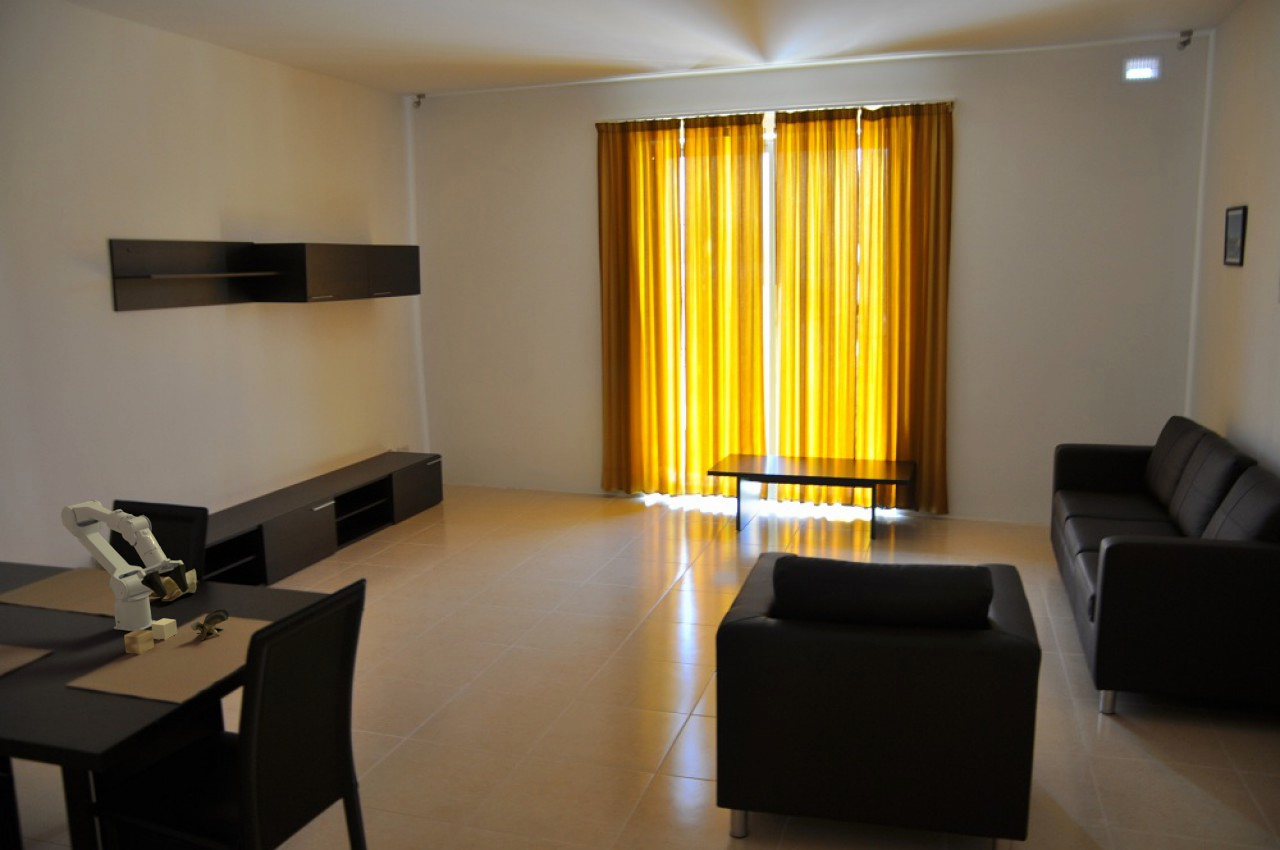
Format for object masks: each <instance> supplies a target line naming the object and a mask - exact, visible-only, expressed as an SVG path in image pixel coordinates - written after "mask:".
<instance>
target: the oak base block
mask: <svg viewBox="0 0 1280 850" xmlns="http://www.w3.org/2000/svg"><path fill="white" fill-rule="evenodd" d="M123 637H124V646H125V652H126V654H133V653H137V654H136V655H142V654H144V653H146V652H148V651H147V650H149V649H151V650H153V649H154V648H155V643H154V642H155V641H154V640H155V639H153V632H152V630H150V629H149V630H147V629H144V630H142V629H137V630H135V631H130V632H129V633H126V634H124V635H123ZM153 647H154V648H153ZM152 648H153V649H152ZM145 651H146V652H145ZM149 651H150V650H149ZM143 652H144V653H143ZM141 653H142V654H141Z"/></svg>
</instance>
